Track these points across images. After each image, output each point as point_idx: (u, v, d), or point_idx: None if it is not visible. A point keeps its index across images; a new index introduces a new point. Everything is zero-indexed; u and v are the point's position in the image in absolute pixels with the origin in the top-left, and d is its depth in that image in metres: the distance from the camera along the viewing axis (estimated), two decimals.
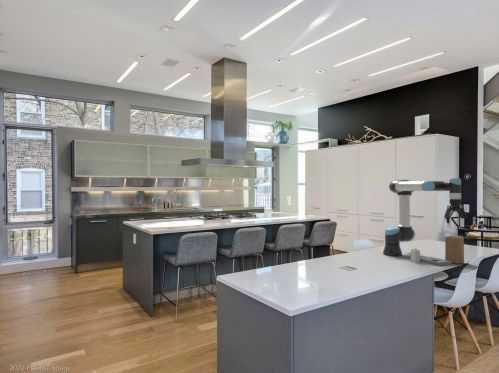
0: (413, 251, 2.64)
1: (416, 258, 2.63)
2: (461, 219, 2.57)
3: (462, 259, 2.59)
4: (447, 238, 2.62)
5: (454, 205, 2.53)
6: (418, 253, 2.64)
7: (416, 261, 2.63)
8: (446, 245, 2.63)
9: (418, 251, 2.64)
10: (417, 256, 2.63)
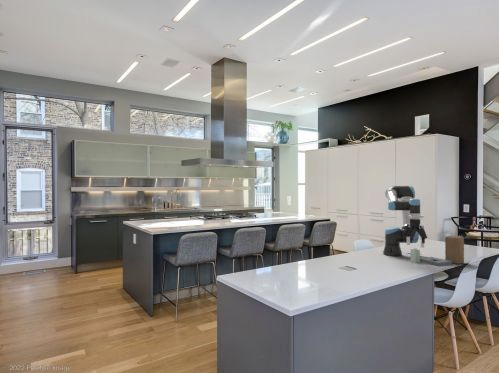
0: (413, 251, 2.64)
1: (416, 258, 2.63)
2: None
3: (462, 259, 2.59)
4: (447, 238, 2.62)
5: (411, 224, 2.67)
6: (418, 253, 2.64)
7: (416, 261, 2.63)
8: (446, 245, 2.63)
9: (418, 251, 2.64)
10: (417, 256, 2.63)
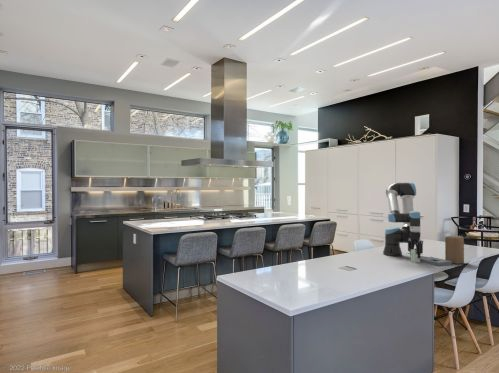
0: (413, 251, 2.64)
1: None
2: None
3: (462, 259, 2.59)
4: (447, 238, 2.62)
5: (411, 237, 2.68)
6: None
7: None
8: (446, 245, 2.63)
9: None
10: None
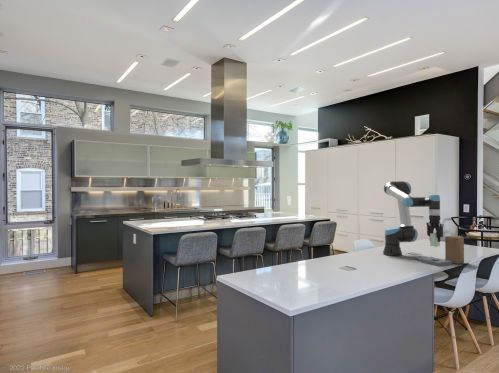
0: (433, 235, 2.58)
1: None
2: None
3: (462, 259, 2.59)
4: (447, 238, 2.62)
5: (430, 220, 2.62)
6: None
7: None
8: (446, 245, 2.63)
9: None
10: None
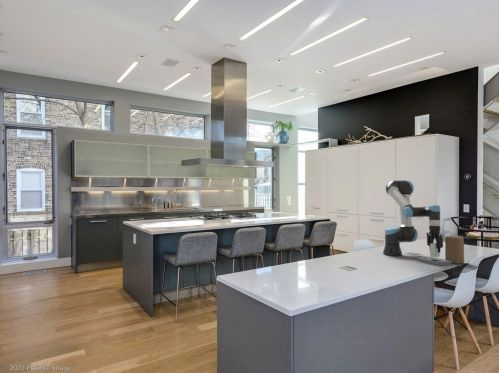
0: (433, 245, 2.58)
1: None
2: None
3: (462, 259, 2.59)
4: (447, 238, 2.62)
5: (430, 231, 2.62)
6: None
7: None
8: (446, 245, 2.63)
9: None
10: None
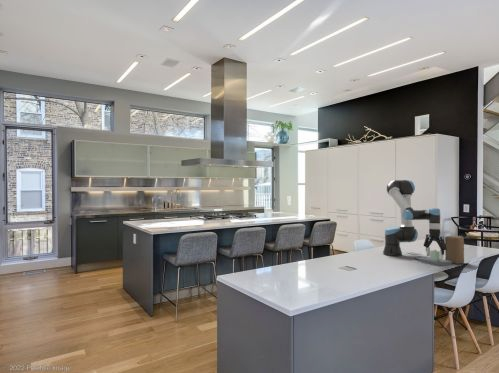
0: (433, 252, 2.58)
1: (436, 259, 2.57)
2: None
3: (462, 259, 2.59)
4: (447, 238, 2.62)
5: (431, 234, 2.61)
6: (438, 254, 2.58)
7: None
8: (446, 245, 2.63)
9: (438, 252, 2.58)
10: (437, 257, 2.57)
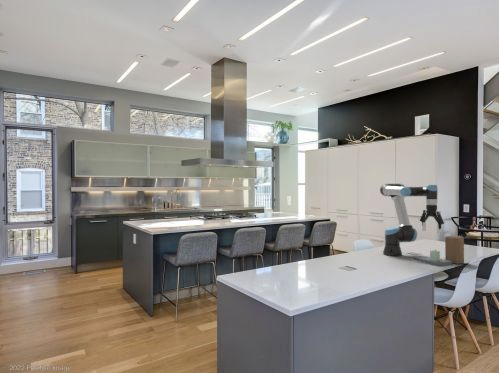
0: (433, 252, 2.58)
1: (436, 259, 2.57)
2: None
3: (462, 259, 2.59)
4: (447, 238, 2.62)
5: (428, 210, 2.67)
6: (438, 254, 2.57)
7: None
8: (446, 245, 2.63)
9: (438, 252, 2.58)
10: (437, 257, 2.57)
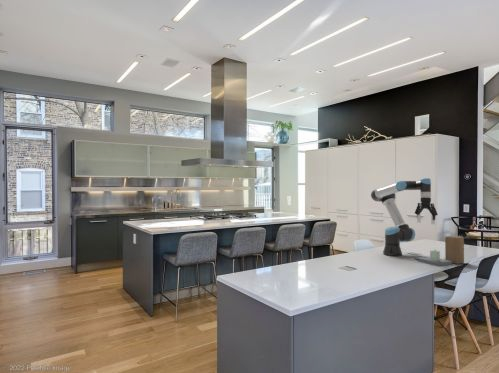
0: (433, 252, 2.58)
1: (436, 259, 2.57)
2: None
3: (462, 259, 2.59)
4: (447, 238, 2.62)
5: (422, 203, 2.80)
6: (438, 254, 2.57)
7: None
8: (446, 245, 2.63)
9: (438, 252, 2.58)
10: (437, 257, 2.57)
